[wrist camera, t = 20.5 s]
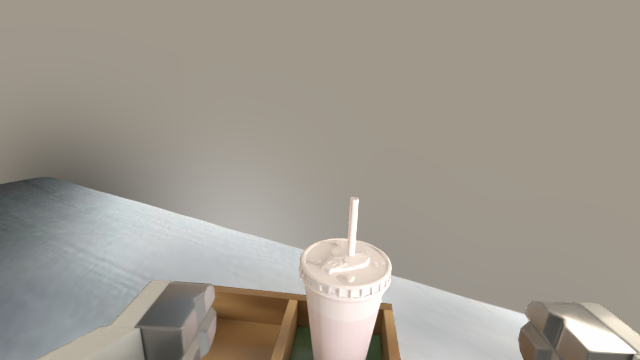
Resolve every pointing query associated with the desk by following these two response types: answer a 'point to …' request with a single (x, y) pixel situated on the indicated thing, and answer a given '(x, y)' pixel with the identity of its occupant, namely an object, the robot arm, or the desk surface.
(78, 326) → the desk surface
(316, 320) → the smoothie
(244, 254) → the desk surface
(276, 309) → the tray
